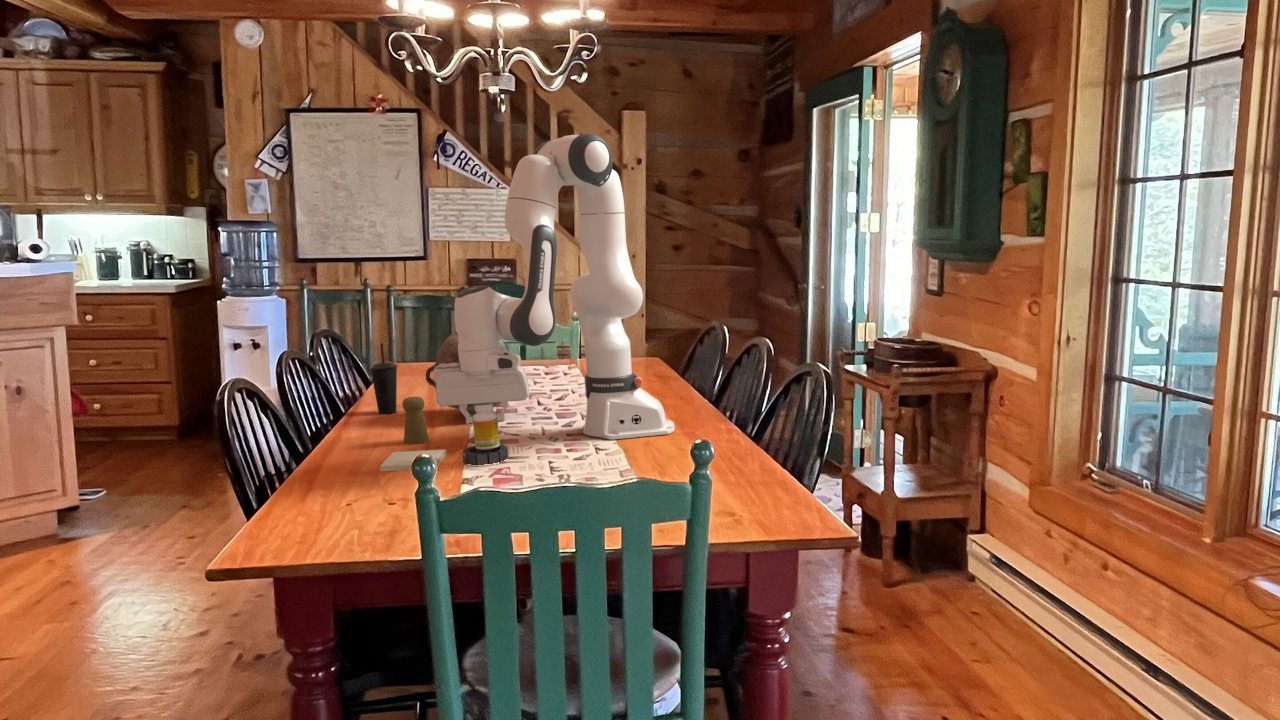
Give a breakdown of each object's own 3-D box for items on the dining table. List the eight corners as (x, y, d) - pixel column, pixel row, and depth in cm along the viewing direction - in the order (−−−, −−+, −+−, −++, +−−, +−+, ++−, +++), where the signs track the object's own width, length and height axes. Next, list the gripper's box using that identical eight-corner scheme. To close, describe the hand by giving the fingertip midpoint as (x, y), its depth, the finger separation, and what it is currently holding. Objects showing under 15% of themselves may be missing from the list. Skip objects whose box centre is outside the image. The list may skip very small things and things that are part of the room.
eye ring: (510, 453, 208) (509, 442, 207) (505, 464, 198) (504, 453, 198) (467, 455, 208) (466, 445, 207) (460, 467, 198) (459, 456, 197)
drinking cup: (407, 411, 261) (401, 341, 258) (386, 416, 255) (380, 345, 252) (388, 409, 266) (382, 341, 262) (368, 414, 259) (361, 344, 256)
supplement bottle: (500, 448, 200) (496, 404, 199) (475, 451, 199) (471, 407, 198) (499, 443, 205) (495, 400, 204) (475, 445, 204) (471, 403, 203)
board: (446, 454, 209) (445, 449, 209) (436, 468, 198) (435, 463, 197) (393, 457, 209) (393, 452, 209) (380, 471, 197) (380, 466, 197)
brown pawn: (422, 444, 221) (418, 399, 219) (399, 444, 222) (395, 399, 220) (433, 438, 226) (429, 394, 225) (410, 438, 228) (406, 394, 226)
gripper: (429, 366, 196) (435, 429, 199) (524, 359, 197) (530, 422, 199) (434, 361, 202) (441, 422, 205) (527, 355, 203) (532, 415, 205)
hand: (485, 422), depth 202 cm, fingers closed on supplement bottle, 5 cm apart
